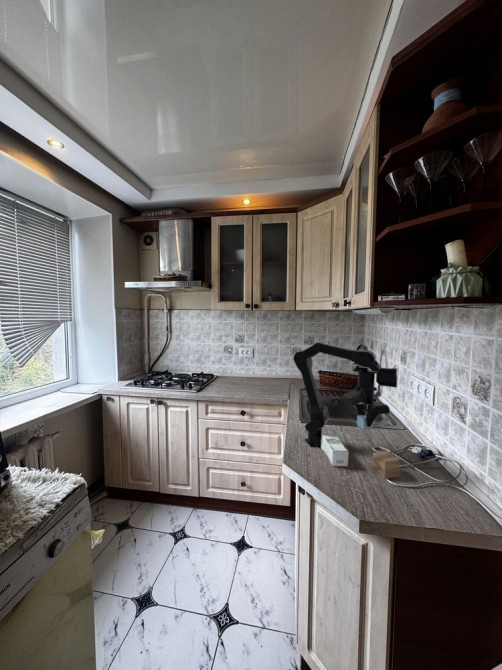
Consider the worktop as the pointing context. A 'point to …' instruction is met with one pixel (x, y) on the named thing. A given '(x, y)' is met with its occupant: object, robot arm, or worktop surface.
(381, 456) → the tower mid
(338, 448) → the syrup box
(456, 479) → the worktop surface
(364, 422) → the blue block
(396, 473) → the tower base
